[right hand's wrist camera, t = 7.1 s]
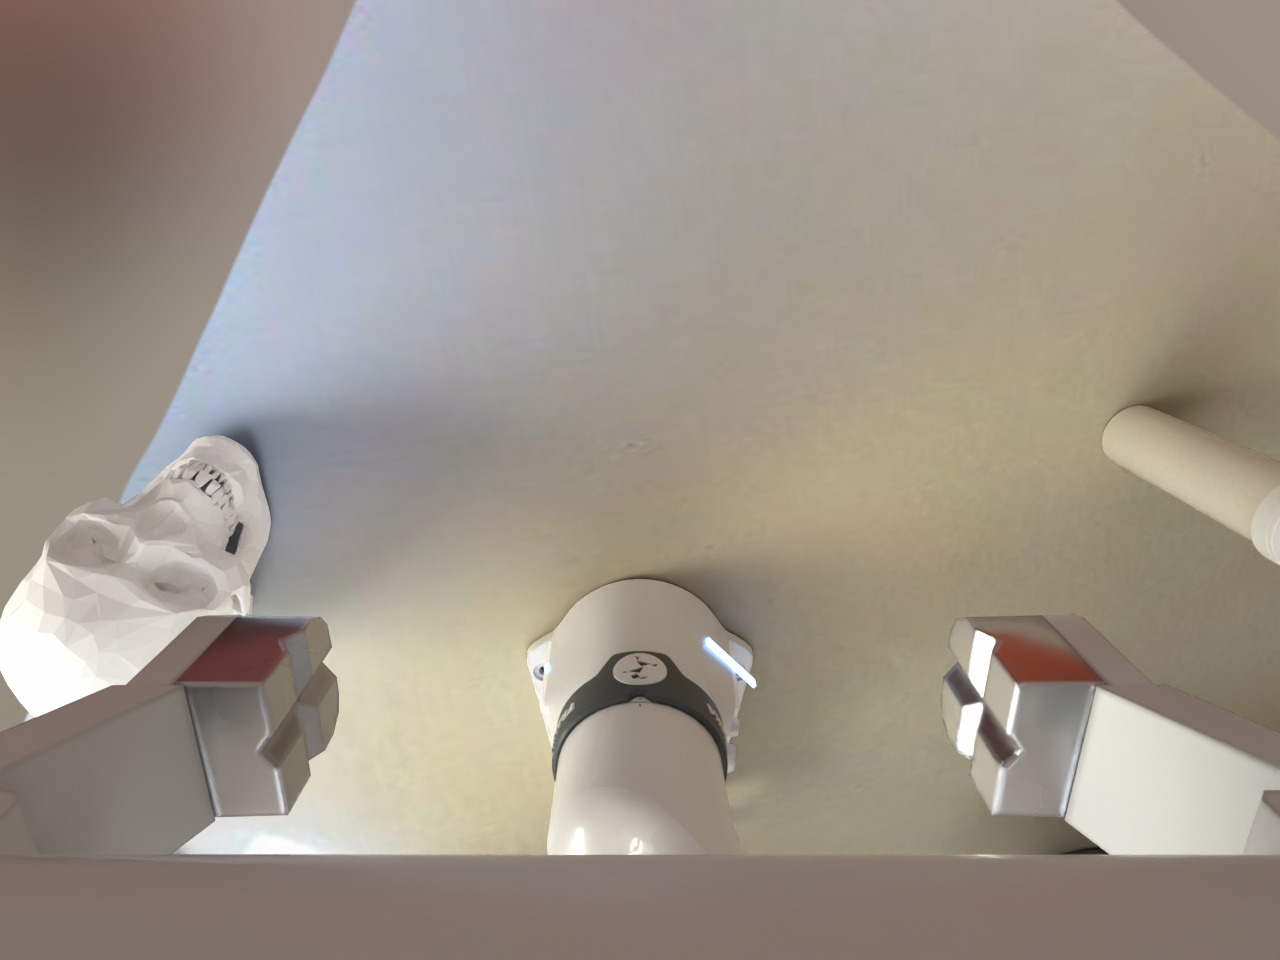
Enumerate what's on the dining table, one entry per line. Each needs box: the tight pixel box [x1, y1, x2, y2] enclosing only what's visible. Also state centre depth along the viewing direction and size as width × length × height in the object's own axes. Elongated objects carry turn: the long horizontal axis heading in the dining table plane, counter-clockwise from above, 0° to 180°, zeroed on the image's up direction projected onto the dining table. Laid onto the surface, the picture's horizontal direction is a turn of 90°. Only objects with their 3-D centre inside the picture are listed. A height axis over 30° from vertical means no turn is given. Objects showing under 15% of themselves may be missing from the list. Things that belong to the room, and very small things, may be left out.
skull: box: [0, 435, 271, 717], centre depth 55 cm, size 13×22×16 cm, turn 156°
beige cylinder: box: [1102, 405, 1280, 542], centre depth 51 cm, size 5×5×17 cm
